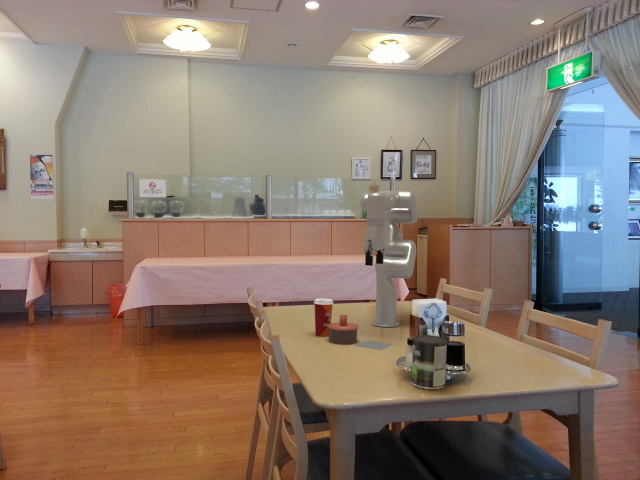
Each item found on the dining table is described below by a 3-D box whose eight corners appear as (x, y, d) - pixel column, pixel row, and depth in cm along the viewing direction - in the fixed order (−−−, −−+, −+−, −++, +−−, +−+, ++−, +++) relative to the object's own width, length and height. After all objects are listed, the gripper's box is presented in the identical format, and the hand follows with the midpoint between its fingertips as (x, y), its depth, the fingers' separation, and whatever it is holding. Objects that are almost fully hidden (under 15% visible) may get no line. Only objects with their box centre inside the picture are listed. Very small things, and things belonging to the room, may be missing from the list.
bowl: (337, 338, 222) (338, 323, 222) (360, 341, 217) (360, 327, 216) (324, 342, 213) (325, 327, 213) (347, 347, 208) (348, 331, 208)
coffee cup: (330, 338, 222) (331, 301, 221) (310, 336, 224) (311, 300, 223) (334, 333, 230) (335, 298, 229) (315, 332, 232) (316, 297, 231)
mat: (368, 341, 217) (368, 340, 217) (393, 345, 212) (393, 344, 212) (355, 347, 208) (355, 345, 208) (381, 351, 202) (381, 350, 202)
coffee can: (416, 390, 159) (417, 342, 158) (407, 379, 169) (409, 334, 169) (450, 390, 160) (452, 343, 159) (439, 379, 170) (441, 334, 170)
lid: (337, 323, 223) (338, 311, 223) (363, 326, 217) (364, 315, 216) (322, 327, 213) (322, 315, 213) (349, 332, 207) (349, 319, 206)
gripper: (376, 223, 233) (375, 262, 234) (357, 223, 218) (356, 265, 219) (392, 223, 229) (391, 263, 230) (374, 223, 214) (373, 266, 215)
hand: (374, 264), depth 224 cm, fingers open, 9 cm apart
